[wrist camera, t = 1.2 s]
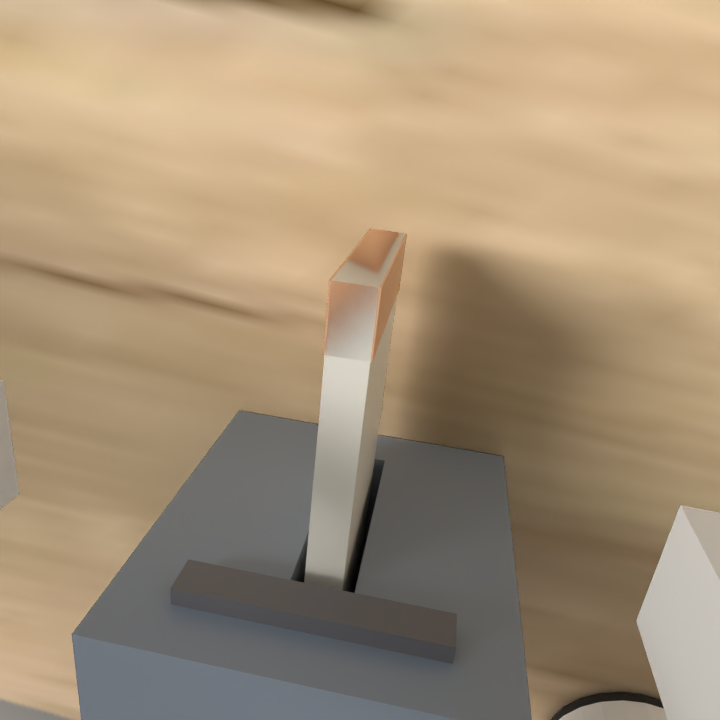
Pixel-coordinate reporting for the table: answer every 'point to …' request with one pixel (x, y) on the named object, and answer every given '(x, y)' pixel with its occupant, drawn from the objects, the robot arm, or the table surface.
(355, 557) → the slim white post
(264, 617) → the block
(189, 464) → the table surface
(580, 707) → the mug
